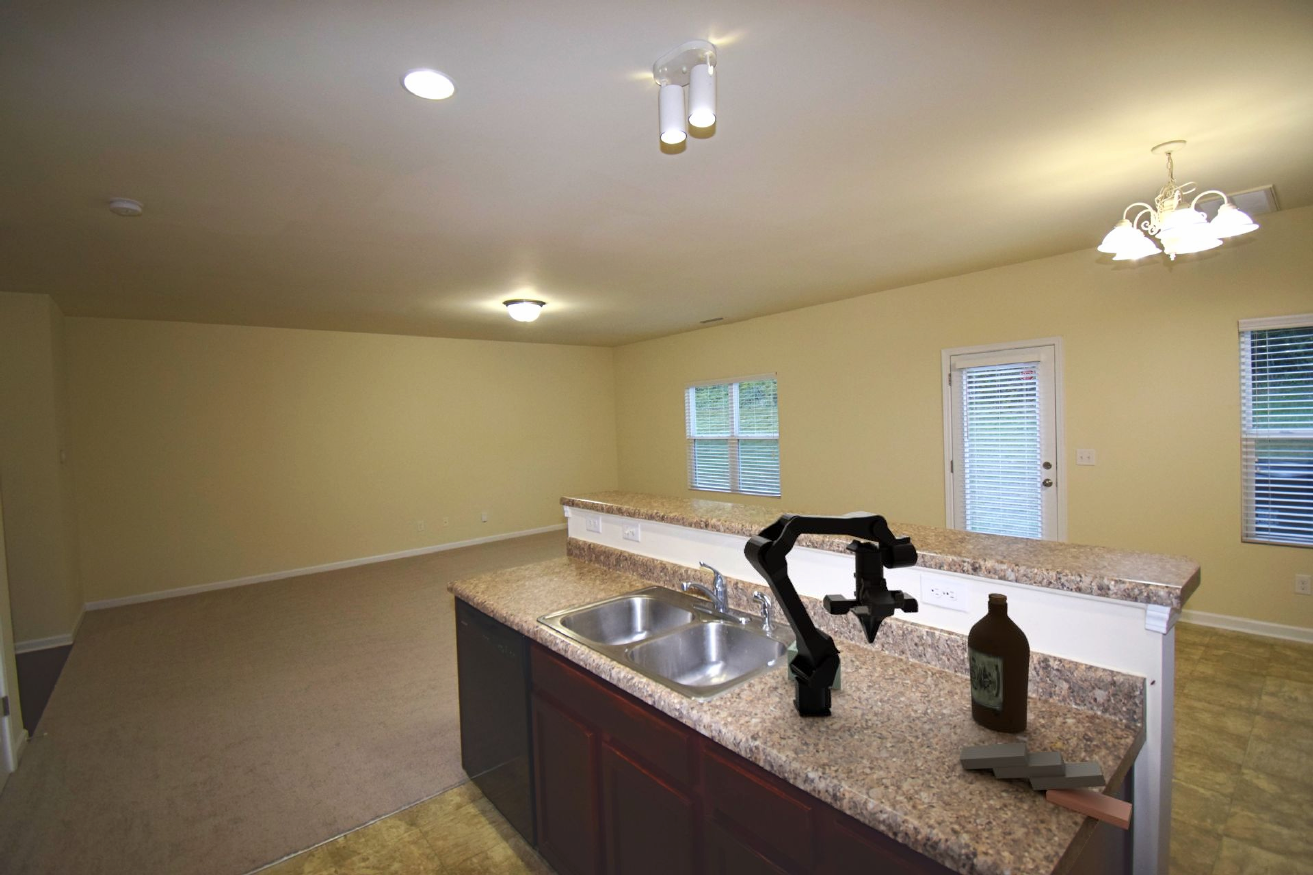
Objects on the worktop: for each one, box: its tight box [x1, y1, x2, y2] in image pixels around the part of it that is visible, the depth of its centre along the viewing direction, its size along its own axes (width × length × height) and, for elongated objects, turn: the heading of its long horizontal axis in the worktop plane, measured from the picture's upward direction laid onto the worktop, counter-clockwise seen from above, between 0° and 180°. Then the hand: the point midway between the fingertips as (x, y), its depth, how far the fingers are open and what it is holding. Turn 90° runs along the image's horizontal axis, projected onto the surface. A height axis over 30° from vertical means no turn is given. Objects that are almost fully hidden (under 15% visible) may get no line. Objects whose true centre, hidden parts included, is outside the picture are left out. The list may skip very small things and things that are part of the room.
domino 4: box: [1045, 787, 1133, 830], centre depth 90 cm, size 2×5×10 cm
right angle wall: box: [786, 639, 842, 691], centre depth 139 cm, size 12×12×8 cm
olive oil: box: [967, 592, 1031, 734], centre depth 116 cm, size 11×11×25 cm
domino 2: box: [992, 750, 1066, 780], centre depth 97 cm, size 2×5×10 cm
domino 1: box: [959, 742, 1030, 770], centre depth 100 cm, size 2×5×10 cm
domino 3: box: [1028, 760, 1108, 791], centre depth 94 cm, size 2×5×10 cm
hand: (870, 642), depth 126 cm, fingers closed
